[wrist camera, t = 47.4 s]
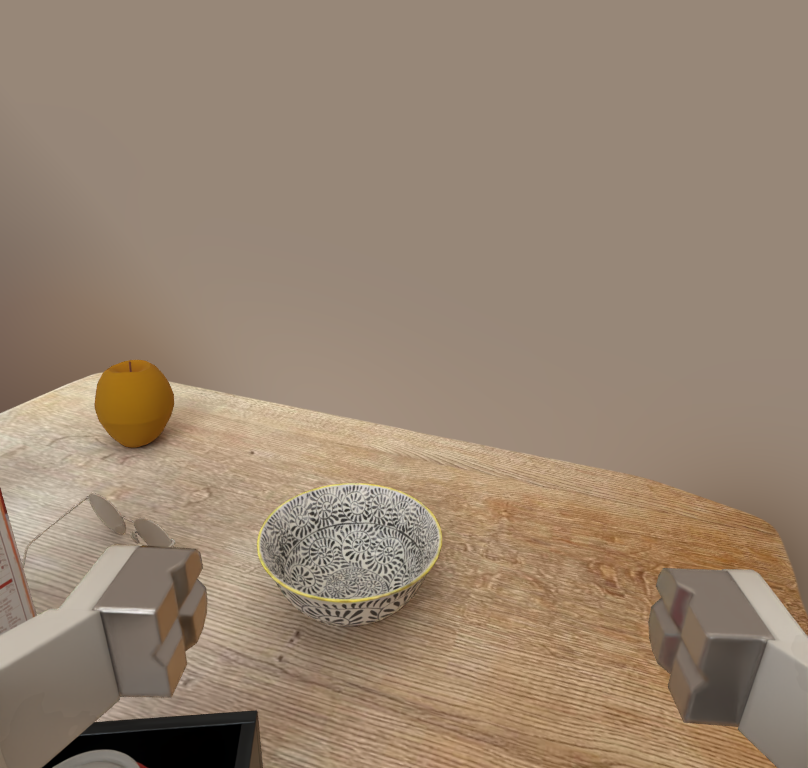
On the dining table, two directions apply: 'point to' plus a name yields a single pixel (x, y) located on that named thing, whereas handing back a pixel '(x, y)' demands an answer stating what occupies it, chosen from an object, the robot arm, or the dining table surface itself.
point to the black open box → (176, 741)
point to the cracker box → (12, 579)
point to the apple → (134, 402)
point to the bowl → (349, 551)
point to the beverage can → (100, 760)
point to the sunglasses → (121, 524)
